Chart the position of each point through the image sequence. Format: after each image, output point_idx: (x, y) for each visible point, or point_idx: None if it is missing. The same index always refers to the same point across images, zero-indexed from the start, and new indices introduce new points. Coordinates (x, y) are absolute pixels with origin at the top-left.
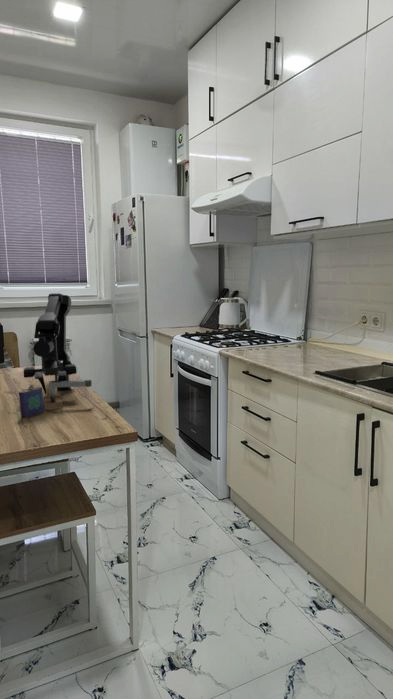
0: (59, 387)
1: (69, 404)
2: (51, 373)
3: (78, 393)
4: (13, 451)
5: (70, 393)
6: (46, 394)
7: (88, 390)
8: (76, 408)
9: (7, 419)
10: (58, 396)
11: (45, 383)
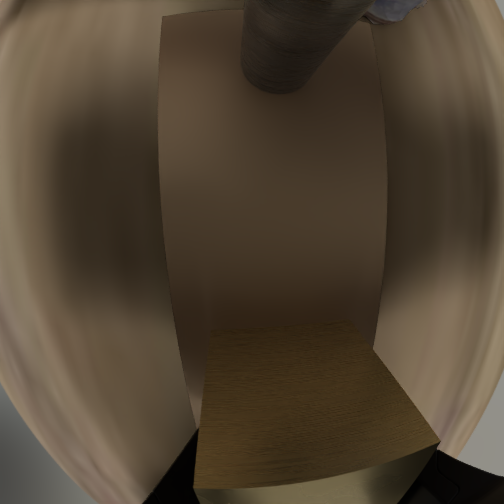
0: (177, 459)
1: (98, 160)
2: None
3: (95, 454)
4: None
5: (146, 473)
6: (363, 341)
7: (64, 469)
8: (70, 24)
9: (496, 10)
10: (202, 337)
11: (396, 499)
